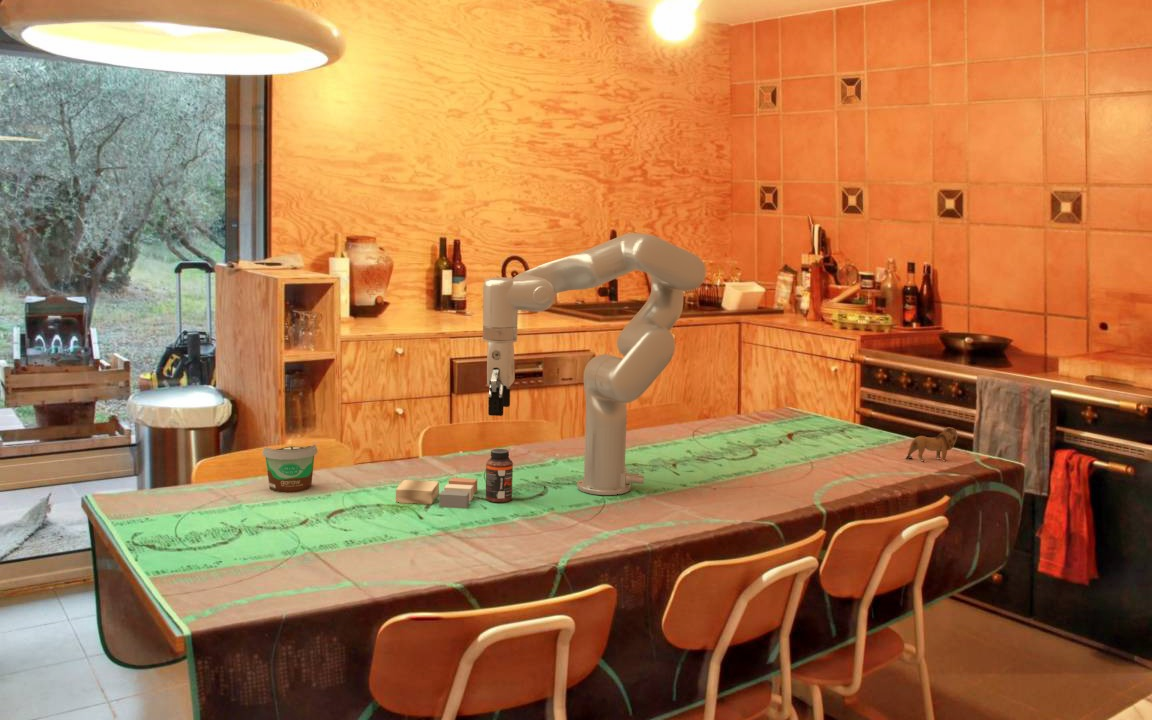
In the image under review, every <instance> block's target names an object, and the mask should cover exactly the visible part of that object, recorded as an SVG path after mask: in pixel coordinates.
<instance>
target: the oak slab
mask: <svg viewBox="0 0 1152 720" xmlns="http://www.w3.org/2000/svg"><path fill="white" fill-rule="evenodd" d="M439 491H440V481H439V480H438V481H437V480H436V481H433V480H417V479H416V480H413V479H412V480H411V479H403V480H402V481H401V483H399V485H398V486H397V487H396V489H395V503H396V502H397V503H398V502H399V504H413V503H417V504H419V505H433V503H434V501H436V499H437V498H438V497H439V494H440V492H439ZM417 504H416V505H417Z"/></svg>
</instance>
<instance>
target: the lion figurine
mask: <svg viewBox="0 0 1152 720" xmlns="http://www.w3.org/2000/svg"><path fill="white" fill-rule="evenodd" d="M957 440H958V432H957V429H955V428H954V427H950V426H947V427H945V428H943V429H942V432H940V433H939V434H938V435H937V436H935V437H927V436H925V435H919V436H916V437H914V438H913V439H912V441H911V442H910V446H909V449H908V451H907V456H906V457H905V458H904V459H905V460H910V459H909V458H912V459H913V456H911V455H912V454H913V453H914V452H917V450H918V454H917V456H918V458H919V460H920V461H921V460H923V461H925V460H926V459H924V458H923V454H924V452H925V450H928V451H931V452H936V455H935V459H936V458H941V460H942V459H943V460H946V457H947V454H948V451H950V450H953V448H954V446H955V444H956V443H957Z"/></svg>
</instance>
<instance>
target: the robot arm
mask: <svg viewBox="0 0 1152 720" xmlns="http://www.w3.org/2000/svg"><path fill="white" fill-rule="evenodd" d="M634 271H635V272H636V271H638V272H643V273H645V274H648V275H650V276H649V277H650V282H651V287H650V288H651V290H650V294H649V297H648V299H647V300H646V301H645V303H644V305H643V306H642V307H641V308H640V309H639V311H638V312H637V313H636V314H635V315H634V316H633V318H632V319H631V320H630V321H629V322H628V323H627V324H626V325H625V326H624V328H623V329H622V331H620V333H619V335H618V336H617V340H616V346H617V350H618V352H619V353H620V354H621V355H622V356H623V357H618V356H616V355H612V354H603V353H602V354H599V355H596V356H594V357H592V358H591V359H590V360H589V361H588V363H587V364H586V365H585V368H584V371H583V390H584V396H585V431H584V432H585V434H584V435H585V436H584V465H583V467H584V469H583V478H582V479H580V480H578V481H577V484H576V487H577V489H578V490H580V492H583V493H586V494H591V495H595V496H596V495H599V496H616V495H617V494H618V495H622V494H626V493H629V492H630V491H631V489H632V487H631V486H632V484H637V485H639V484H640V485H644V482H645V481H644V480H645V479H644V478H645V475H640V474H639V473H630V472H629V471H628V472H627V467H626V450H627V449H626V447H627V423H628V420H627V419H628V415H627V413H628V412H627V404H629V403H632V402H634V401H637V400H638V399H639V398H640V397H641V396H642V395H643V394H644V393H645V392H646V391H647V390H648V388H650V386H651V385H652V384H653V383H654V382H655V381H656V379H657V378H658V376H660V375H661V373H662V372H663V371H664V370H665V369H666V368H667V366H668V364H670V362H671V361H672V359H673V356H674V353H675V348H676V342H675V337H674V336H673V333H672V332H671V330H672V329H673V328H674V326H675V324H677V322H678V320H679V319H680V317H681V315H682V312H683V310H684V309H683V307H684V292H685V291H686V292H689V291H690V292H691V291H693V290H696V289H698V288H700V286H702V284H703V283H704V281H705V279H706V276H707V270H706V266H705V263H704V261H703V260H702V259H701V258H700V256H698V255H696V254H694V253H693V252H690V251H688V250H686V249H684V248H682V247H679V246H677V245H675V244H673V243H671V242H668V241H667V240H664V239H663V238H661V237H658V236H655V235H653V234H648V233H640V232H629V233H628V232H627V233H625V234H623V235H619V236H617V237H615V238H612V239H610V240H607V241H605V242H603V243H600V244H598V245H596V246H593V247H591V248H589V249H586V250H583V251H581V252H577V253H574V254H570V255H568V256H564V257H562V258H558V259H555V260H551V261H548V262H545V263H543V264H540V265H537V266H535V267H532V268H529V269H528V270H525V271H522V272H521V273H518V274H517V275H515V276H514V277H499V276H498V277H489V278H486V279H485V280H484V283H483V284H482V285H483V287H482V289H483V291H482V299H483V300H482V342H486V343H487V351H486V352H487V353H486V354H487V355H486V361H487V362H486V383H487V386H488V387H489V392H488V398H487V399H488V400H487V401H488V408H487V411H488V412H487V413H488V416H491V417H492V416H495V417H503V416H504V408H509V407H510V405H511V389H510V387H511V386H512V384H514V382H515V348H514V347H515V346H514V345H515V344H514V343H516V342H518V316H519V315H518V314H519V313H518V311H526V312H527V311H528V312H533V313H534V312H536V313H538V312H544V311H546V310H548V309H550V307H552V306H553V305H554V303H555V300H556V296H557V295H556V294H558V293H563V292H567V291H576V290H577V291H579V290H587V289H593V288H594V289H595V288H597V287H599V286H602V285H604V284H606V283H609V282H611V281H613V280H615V279H618V278H620V277H622V276H625V275H626V274H630V273H632V272H634Z"/></svg>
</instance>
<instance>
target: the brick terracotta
mask: <svg viewBox="0 0 1152 720" xmlns="http://www.w3.org/2000/svg"><path fill="white" fill-rule="evenodd" d="M448 484H458V485H473V495H475V494H476V493H477V492H478V478H467V477H451V478H450V479H448Z"/></svg>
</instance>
